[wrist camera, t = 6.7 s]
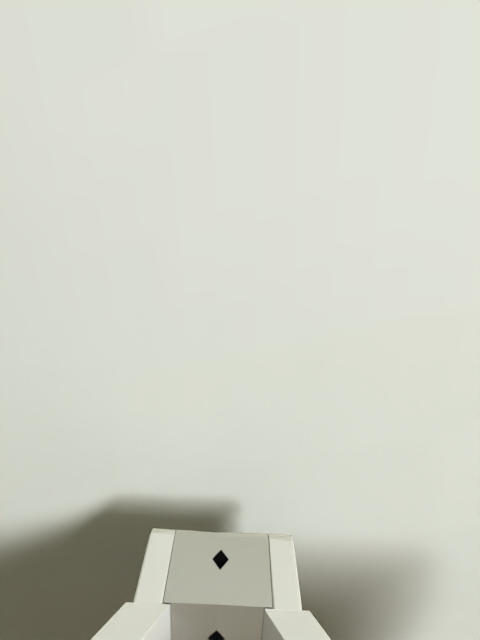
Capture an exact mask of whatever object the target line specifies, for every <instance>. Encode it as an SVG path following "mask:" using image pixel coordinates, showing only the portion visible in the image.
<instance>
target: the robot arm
mask: <svg viewBox="0 0 480 640" xmlns="http://www.w3.org/2000/svg"><path fill="white" fill-rule="evenodd" d="M91 640H331V639H330V638H329V636H328V635H327V634H326V632H325V631H324V630H323V628H322V627H321V626H320V624H319V623H318V621H317V620H316V619H315V617H314V616H313V615H312V613H311V612H310V611H305V610H302V605H301V597H300V589H299V581H298V573H297V565H296V557H295V549H294V541H293V538H292V536H291V535H276V534H268V535H267V534H259V533H231V532H222V533H217V532H204V531H190V530H173V529H159V528H153V529H152V531H151V533H150V536H149V540H148V544H147V548H146V552H145V556H144V560H143V564H142V568H141V572H140V576H139V580H138V584H137V589H136V593H135V597H134V601H133V602H125V603H124V604H123V606H122V607H121V608H120V609H119V610H118V611H117V612H116V613H115V614H114V615H113V616H112V617H111V618H110V619H109V620H108V621H107V623H106V624H105V625H104V626H103V627H102V628H101V629H100V630H99V631H98V632H97V633H96V634H95V635H94V636H93V637H92V639H91Z"/></svg>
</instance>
